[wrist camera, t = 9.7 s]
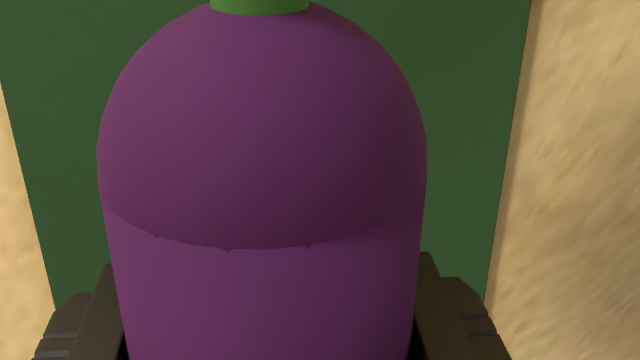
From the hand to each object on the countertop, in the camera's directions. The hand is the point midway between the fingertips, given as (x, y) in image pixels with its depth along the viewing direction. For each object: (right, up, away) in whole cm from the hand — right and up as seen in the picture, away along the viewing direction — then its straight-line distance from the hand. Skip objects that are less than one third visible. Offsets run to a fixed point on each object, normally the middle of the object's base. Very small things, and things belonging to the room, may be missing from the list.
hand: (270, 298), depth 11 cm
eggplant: (0, 0, +1) cm, 1 cm away
